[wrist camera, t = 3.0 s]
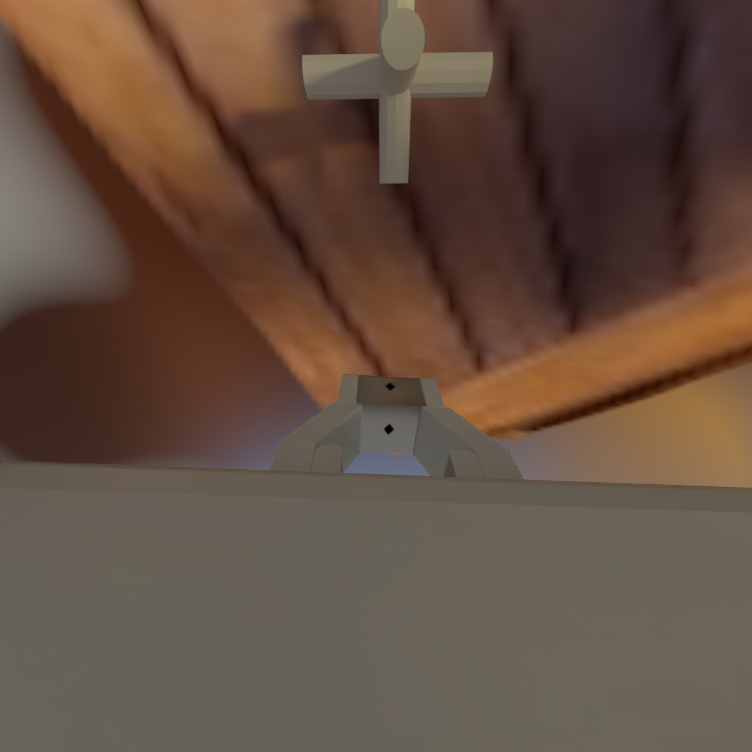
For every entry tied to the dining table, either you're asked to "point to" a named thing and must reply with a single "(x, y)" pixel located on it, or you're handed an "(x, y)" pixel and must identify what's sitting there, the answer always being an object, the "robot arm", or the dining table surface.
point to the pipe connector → (397, 80)
